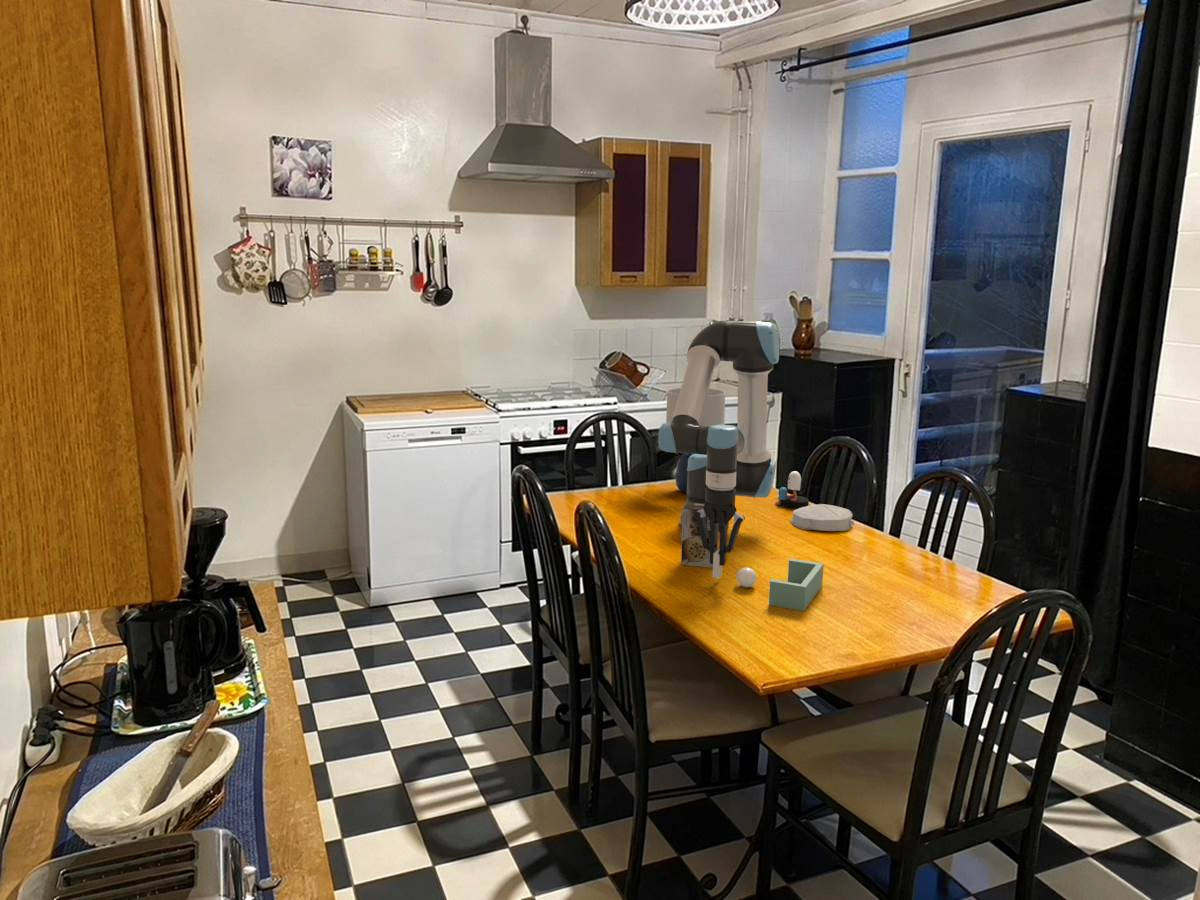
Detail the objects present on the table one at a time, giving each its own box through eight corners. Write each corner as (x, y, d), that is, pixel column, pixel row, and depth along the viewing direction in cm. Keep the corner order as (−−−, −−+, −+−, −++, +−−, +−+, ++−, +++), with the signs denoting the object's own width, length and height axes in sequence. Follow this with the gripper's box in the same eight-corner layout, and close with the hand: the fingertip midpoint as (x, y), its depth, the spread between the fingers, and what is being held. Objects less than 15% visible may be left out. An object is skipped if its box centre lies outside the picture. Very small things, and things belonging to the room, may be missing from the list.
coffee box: (718, 561, 247) (720, 504, 244) (713, 568, 241) (715, 510, 238) (685, 557, 250) (687, 501, 247) (680, 564, 244) (681, 507, 241)
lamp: (661, 497, 314) (664, 392, 307) (667, 483, 334) (669, 385, 326) (720, 500, 311) (724, 394, 303) (722, 486, 331) (726, 387, 323)
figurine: (774, 501, 311) (776, 467, 309) (807, 502, 310) (809, 468, 307) (775, 508, 302) (777, 473, 300) (809, 510, 301) (811, 475, 298)
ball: (733, 588, 227) (734, 569, 226) (739, 582, 231) (740, 563, 230) (753, 591, 225) (753, 572, 224) (758, 585, 229) (759, 566, 228)
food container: (843, 538, 272) (845, 516, 270) (780, 526, 282) (782, 505, 280) (862, 523, 288) (864, 503, 287) (802, 513, 298) (804, 493, 297)
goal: (768, 605, 216) (770, 581, 215) (789, 580, 232) (790, 558, 231) (804, 611, 212) (805, 587, 211) (822, 586, 229) (823, 563, 228)
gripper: (690, 487, 226) (687, 576, 230) (740, 493, 220) (736, 585, 225) (701, 481, 232) (698, 568, 237) (750, 487, 226) (746, 576, 231)
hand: (717, 576), depth 231 cm, fingers closed
